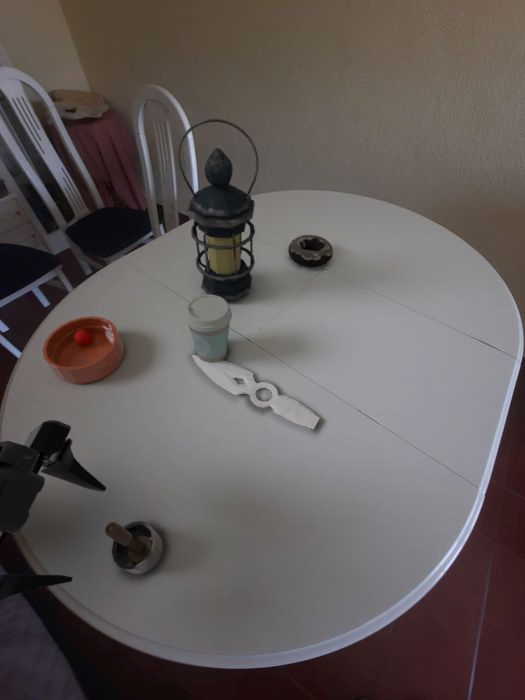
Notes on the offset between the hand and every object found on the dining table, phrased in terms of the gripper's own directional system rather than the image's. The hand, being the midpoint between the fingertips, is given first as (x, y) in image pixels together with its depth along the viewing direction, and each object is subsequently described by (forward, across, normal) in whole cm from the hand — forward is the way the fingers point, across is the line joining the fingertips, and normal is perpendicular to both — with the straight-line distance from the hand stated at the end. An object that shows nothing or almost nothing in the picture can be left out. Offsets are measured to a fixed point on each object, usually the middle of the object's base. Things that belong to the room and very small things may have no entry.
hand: (89, 531), depth 39 cm
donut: (+26, +71, -11) cm, 77 cm away
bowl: (-5, +32, +20) cm, 38 cm away
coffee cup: (+12, +36, +3) cm, 38 cm away
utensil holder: (+10, 0, +5) cm, 11 cm away
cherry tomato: (-8, +35, +19) cm, 41 cm away
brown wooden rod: (+10, 0, +5) cm, 11 cm away
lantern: (+12, +56, +3) cm, 57 cm away
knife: (+18, +28, -3) cm, 34 cm away
